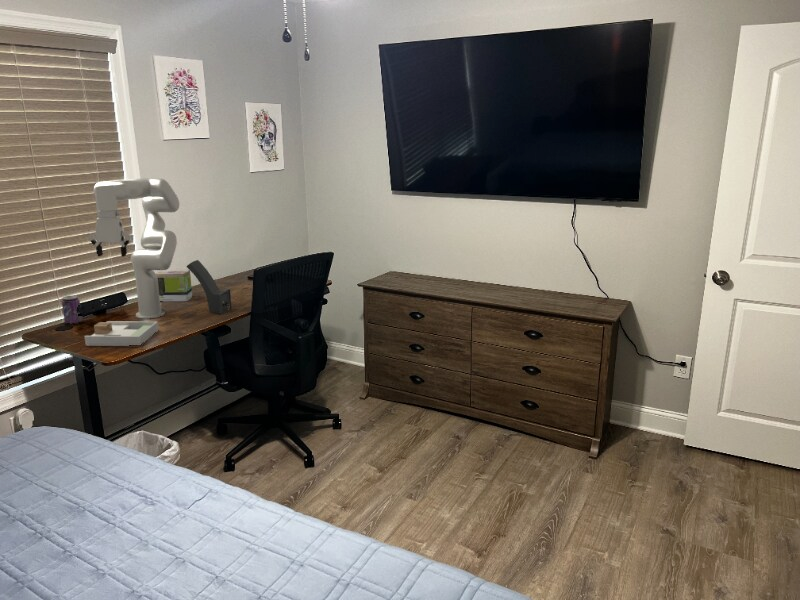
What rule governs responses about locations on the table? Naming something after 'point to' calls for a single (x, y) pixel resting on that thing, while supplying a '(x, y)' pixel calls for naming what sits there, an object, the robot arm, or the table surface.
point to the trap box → (124, 334)
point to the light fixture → (211, 289)
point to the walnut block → (103, 328)
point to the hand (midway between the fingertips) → (112, 255)
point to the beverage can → (71, 309)
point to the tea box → (174, 285)
